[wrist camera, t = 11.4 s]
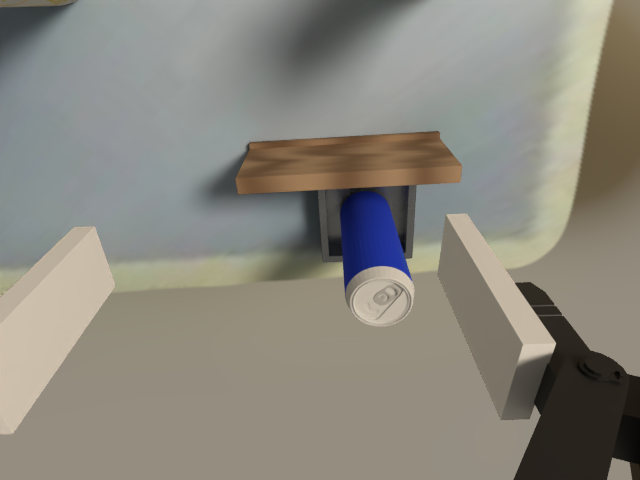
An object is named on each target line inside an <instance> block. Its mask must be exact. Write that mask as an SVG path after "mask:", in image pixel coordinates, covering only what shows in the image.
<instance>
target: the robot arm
mask: <svg viewBox="0 0 640 480" xmlns="http://www.w3.org/2000/svg"><path fill="white" fill-rule="evenodd" d="M438 277H439V280H440V282H441V284H442V286H443V289H444V291H445V293H446V295H447V298H448V300H449V302H450V305H451V307H452V309H453V311H454V314H455V316H456V319H457V321H458V323H459V325H460V328H461V330H462V332H463V334H464V337H465V339H466V341H467V344H468V346H469V348H470V351H471V353H472V355H473V358H474V360H475V362H476V364H477V367H478V369H479V371H480V374H481V375H482V378H483V380H484V383H485V385H486V387H487V390H488V392H489V394H490V396H491V399H492V401H493V403H494V406H495V408H496V410H497V413H498V415H499V417H500V419H501V420H513V419H514V420H515V419H530V416H531V414H532V411H533V408H534V405H536V407H537V409H538V411H539V413H540V415H541V416H540V418H539V421H538V423H537V426H536V428H535V430H534V433H533V435H532V437H531V440H530V442H529V444H528V447H527V449H526V452H525V454H524V456H523V458H522V461H521V463H520V466H519V468H518V470H517V473H516V475H515V478H514V480H607V476H608V472H609V468H610V464H611V460H612V458H616V459H620V460H624V461H628V462H630V467H631V473H632V480H640V377H637V376H633V375H629V374H627V373H626V372H625V370H624V369H623V367H621V366H620V365H619V364H618V363H617V362H615V361H614V360H613V359H611V358H609V357H607V356H605V355H603V354H601V353H597V352H594V351H590V349H589V348H588V347H587V346H586V344H585V343H584V342H583V340H582V339H581V338H580V337H579V335H578V334H577V333H576V331H575V330H574V329H573V327H572V326H571V325H570V324H569V322H568V321H567V320H566V319H565V317H564V316H562V313H561V312H560V311H559V309H558V308H557V307H556V306H554V303H553V302H552V300H551V299H550V298H549V296H548V295H547V294H546V293H545V292H544V291H543V290H541V289H540V288H538V287H537V286H535V285H534V284H532V283H531V282H524V283H514V282H513V280H512V279H511V277H510V276H509V274H508V273H507V271H506V270H505V269H504V267H503V266H502V264H501V263H500V261H499V260H498V258H497V257H496V256H495V254H494V253H493V251H492V250H491V248H490V247H489V245H488V244H487V243H486V241H485V240H484V238H483V237H482V235H481V234H480V232H479V231H478V230H477V228H476V227H475V225H474V224H473V222H472V221H471V219H470V218H469V217H468V215H467V214H446V216H445V224H444V231H443V239H442V246H441V253H440V261H439V268H438ZM115 286H116V285H115V282H114V280H113V277H112V274H111V271H110V268H109V266H108V263H107V260H106V257H105V254H104V252H103V249H102V246H101V243H100V240H99V237H98V235H97V232H96V229H95V226H91V227H74V228H73V229H72V230H71V231H70V232H69V233H67V234H66V235H65V236H64V237H63V238H62V239H61V240H60V241H59V242H58V243H57V244H56V245H55V246H54V247H53V248H52V249H51V250H50V251H49V252H48V253H47V254H45V255H44V256H43V257H42V258H41V259H40V260H39V261H38V262H37V263H36V264H35V265H34V266H33V267H32V268H31V269H30V270H29V271H28V272H27V273H26V274H25V275H23V276H22V277H21V278H20V279H19V280H18V281H17V282H16V283H15V284H14V285H13V286H12V287H11V288H10V289H9V290H8V291H7V292H6V293H5V294H4V295H2V296H1V297H0V434H13V433H14V431H15V430H16V428H17V427H18V426H19V424H20V423H21V421H22V420H23V418H24V417H25V415H26V414H27V413H28V411H29V410H30V408H31V407H32V405H33V404H34V402H35V401H36V400H37V398H38V397H39V395H40V394H41V392H42V391H43V390H44V388H45V387H46V385H47V384H48V382H49V381H50V380H51V378H52V376H53V375H54V373H55V372H56V371H57V369H58V368H59V367H60V365H61V364H62V362H63V360H64V359H65V358H66V356H67V355H68V353H69V352H70V351H71V349H72V348H73V346H74V345H75V343H76V342H77V340H78V339H79V338H80V336H81V335H82V333H83V332H84V330H85V329H86V328H87V326H88V325H89V323H90V322H91V320H92V319H93V317H94V316H95V315H96V313H97V312H98V310H99V309H100V307H101V306H102V304H103V303H104V301H105V300H106V299H107V297H108V296H109V294H110V293H111V291H112V290H113V289H114V287H115Z"/></svg>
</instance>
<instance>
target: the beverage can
mask: <svg viewBox="0 0 640 480" xmlns="http://www.w3.org/2000/svg"><path fill="white" fill-rule="evenodd" d="M340 223H341V239H342V254H343V270H344V285H345V298H346V302H347V305H348V307H349V308H350V310H351V312H352V313H353V315H354V316H355V317H356V318H357V319H358V320H359V321H361V322H363V323H365V324H367V325H371V326H378V327H383V326H389V325H393V324H395V323H397V322H399V321H401V320H402V319H404V318H405V317H406V316H407V315H408V313H409V311H410V310H411V307H412V304H413V298H414V286H413V282H412V279H411V276H410V272H409V269H408V266H407V263H406V259H405V256H404V253H403V249H402V246H401V243H400V240H399V236H398V233H397V230H396V226H395V223H394V220H393V217H392V213H391V210H390V207H389V204H388V202H387V201H386V199H385V198H384V197H383V196H381V195H380V194H378V193H375V192H372V191H361V192H357V193H355V194H353V195H351V196H350V197H348V198H347V199H346V200H345V202H344V203H343V205H342V207H341V210H340Z"/></svg>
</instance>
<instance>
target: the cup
mask: <svg viewBox="0 0 640 480" xmlns="http://www.w3.org/2000/svg"><path fill="white" fill-rule="evenodd" d="M75 1H77V0H0V7H31V6H62V5H68V4H71V3H73V2H75Z"/></svg>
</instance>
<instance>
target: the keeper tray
mask: <svg viewBox="0 0 640 480" xmlns="http://www.w3.org/2000/svg"><path fill="white" fill-rule="evenodd" d="M361 191H372V192H375V193H378V194H380V195H381V196H383V197H384V198H385V199H386V201H387V202H388V204H389V207H390V210H391V213H392V217H393V220H394V223H395V226H396V230H397V233H398V236H399V240H400V243H401V246H402V249H403V253H404V256H405V259H408V258H412V252H413V235H414V218H415V202H416V185H402V186H383V187H365V188H346V189H327V190H318V201H319V215H320V229H321V244H322V258H323V262H343V254H342V239H341V223H340V210H341V207H342V205H343V203H344V202H345V200H346V199H347V198H348V197H350V196H351V195H353V194H355V193H357V192H361Z"/></svg>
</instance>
